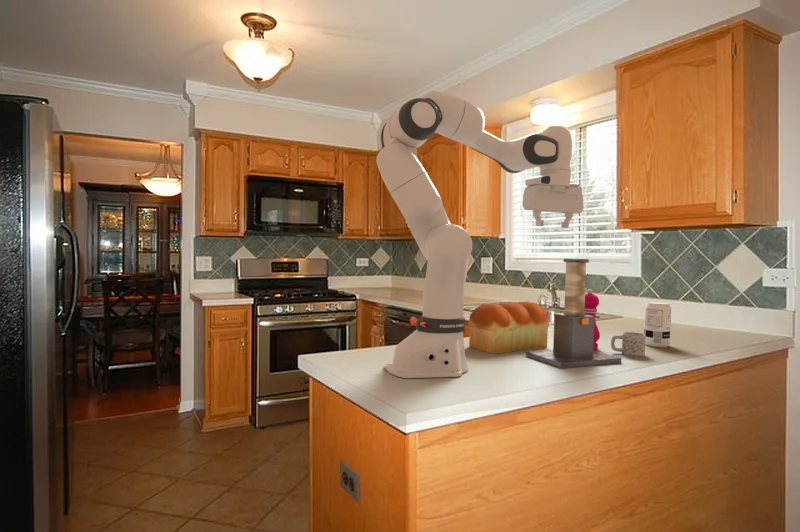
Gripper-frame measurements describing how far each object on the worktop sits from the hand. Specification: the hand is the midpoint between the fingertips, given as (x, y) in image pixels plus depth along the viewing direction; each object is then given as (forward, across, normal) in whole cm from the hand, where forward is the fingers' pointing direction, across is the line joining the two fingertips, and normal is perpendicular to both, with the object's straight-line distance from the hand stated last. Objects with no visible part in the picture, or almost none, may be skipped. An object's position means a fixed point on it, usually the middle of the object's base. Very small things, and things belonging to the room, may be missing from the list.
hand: (552, 227), depth 150 cm
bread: (+40, +2, -16) cm, 44 cm away
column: (+30, -5, +5) cm, 31 cm away
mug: (+39, -29, +4) cm, 49 cm away
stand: (+40, -6, +5) cm, 40 cm away
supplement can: (+39, -51, -4) cm, 64 cm away
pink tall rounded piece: (+40, -23, -7) cm, 46 cm away
